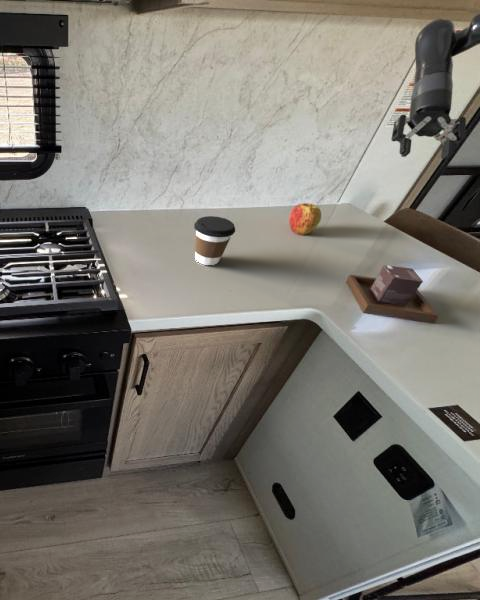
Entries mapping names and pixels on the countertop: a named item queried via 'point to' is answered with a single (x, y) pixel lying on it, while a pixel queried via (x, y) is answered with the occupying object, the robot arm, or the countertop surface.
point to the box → (395, 285)
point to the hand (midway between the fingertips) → (425, 156)
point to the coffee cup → (212, 238)
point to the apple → (304, 218)
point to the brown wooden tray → (413, 311)
